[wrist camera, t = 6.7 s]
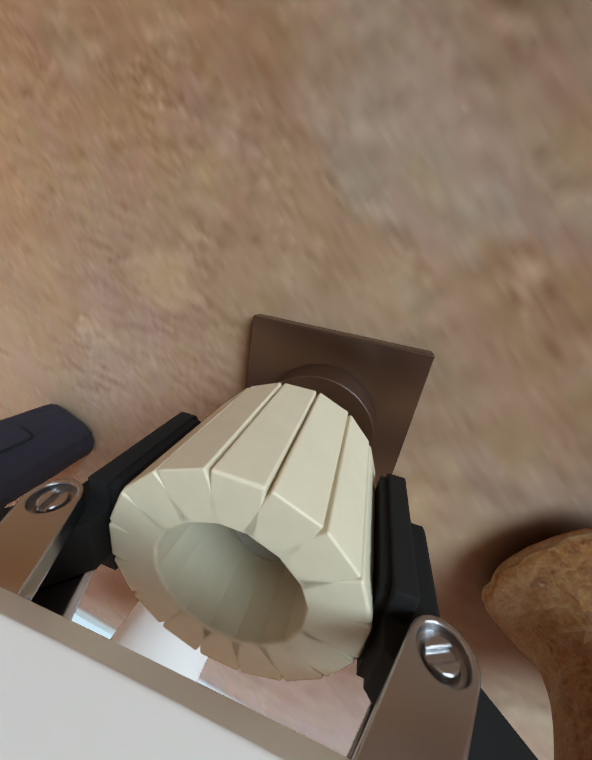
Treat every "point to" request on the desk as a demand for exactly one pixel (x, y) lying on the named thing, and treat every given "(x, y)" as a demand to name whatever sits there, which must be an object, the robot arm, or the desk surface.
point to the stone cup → (553, 628)
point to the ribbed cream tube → (258, 535)
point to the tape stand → (342, 382)
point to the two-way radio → (38, 448)
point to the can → (158, 643)
